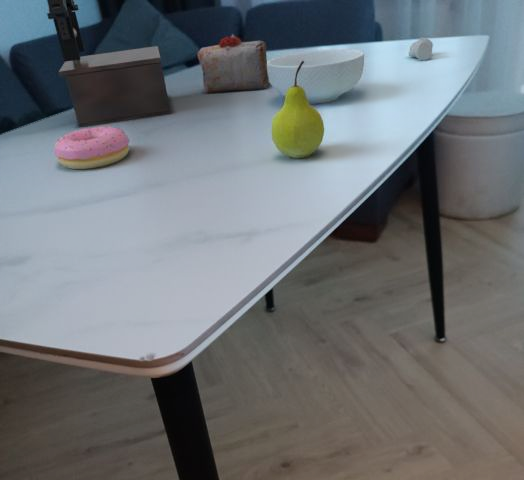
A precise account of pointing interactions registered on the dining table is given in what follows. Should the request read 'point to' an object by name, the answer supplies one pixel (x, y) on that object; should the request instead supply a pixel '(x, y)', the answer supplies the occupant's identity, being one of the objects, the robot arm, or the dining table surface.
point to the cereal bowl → (317, 73)
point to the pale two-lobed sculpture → (421, 49)
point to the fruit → (297, 124)
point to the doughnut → (92, 147)
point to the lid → (111, 60)
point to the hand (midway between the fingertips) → (75, 56)
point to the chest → (118, 94)
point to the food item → (234, 65)
